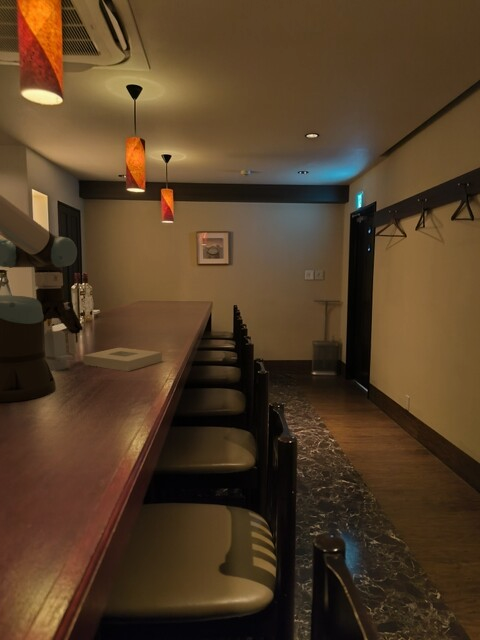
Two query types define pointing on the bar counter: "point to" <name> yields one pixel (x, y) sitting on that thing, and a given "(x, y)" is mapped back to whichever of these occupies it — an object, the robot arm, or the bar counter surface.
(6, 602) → the bar counter surface
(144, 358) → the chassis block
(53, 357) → the servo
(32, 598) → the bar counter surface
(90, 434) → the bar counter surface
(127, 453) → the bar counter surface
